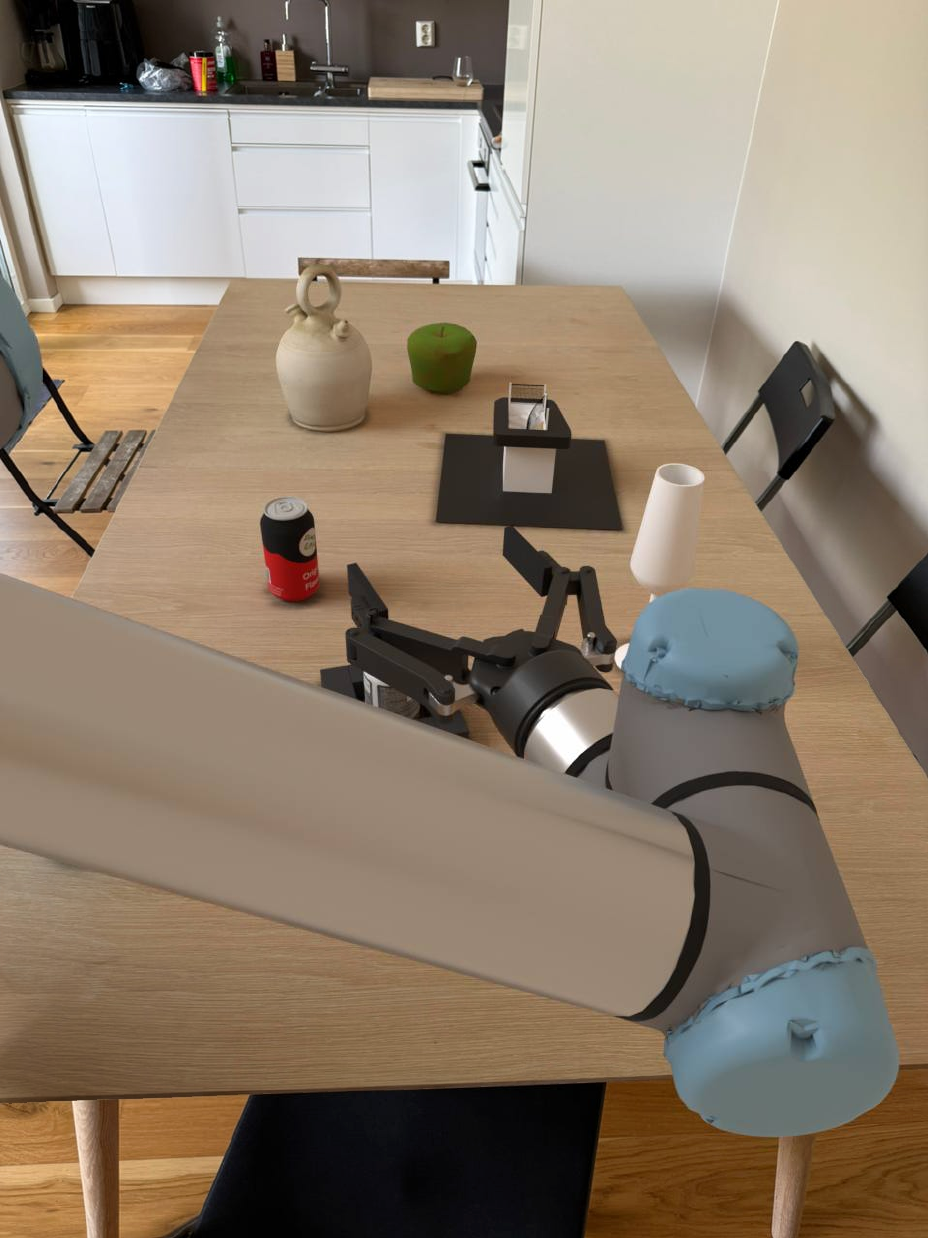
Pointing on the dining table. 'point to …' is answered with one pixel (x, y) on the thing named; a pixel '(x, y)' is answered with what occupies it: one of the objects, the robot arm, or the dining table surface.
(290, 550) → the beverage can
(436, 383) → the apple
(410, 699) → the pill bottle
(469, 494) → the black-topped pedestal
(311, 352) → the jug
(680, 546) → the champagne flute
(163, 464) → the dining table surface
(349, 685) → the dock pad
